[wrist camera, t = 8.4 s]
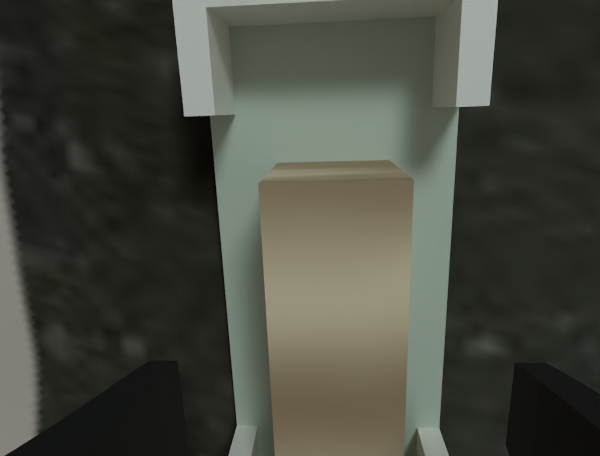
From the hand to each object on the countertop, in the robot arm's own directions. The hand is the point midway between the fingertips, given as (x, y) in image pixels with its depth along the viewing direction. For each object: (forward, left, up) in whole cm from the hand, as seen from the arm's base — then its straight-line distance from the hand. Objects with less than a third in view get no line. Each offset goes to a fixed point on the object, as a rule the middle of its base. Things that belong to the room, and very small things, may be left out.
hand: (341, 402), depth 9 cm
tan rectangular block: (-1, +1, -6) cm, 6 cm away
